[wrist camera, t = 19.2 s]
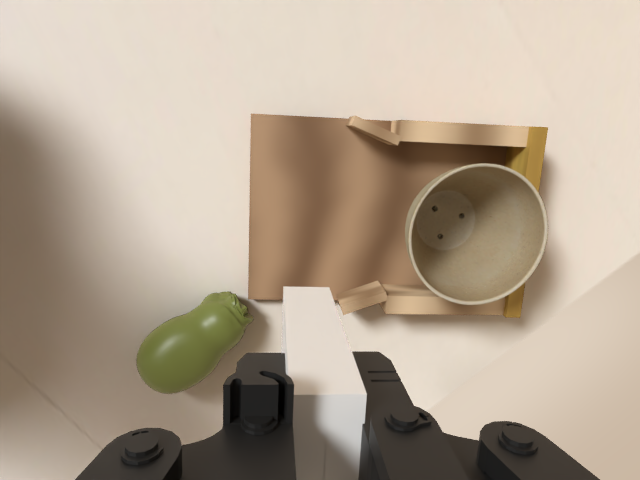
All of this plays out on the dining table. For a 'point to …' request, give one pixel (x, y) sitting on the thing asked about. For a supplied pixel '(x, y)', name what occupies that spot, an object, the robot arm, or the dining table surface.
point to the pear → (192, 343)
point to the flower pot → (476, 233)
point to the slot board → (363, 204)
